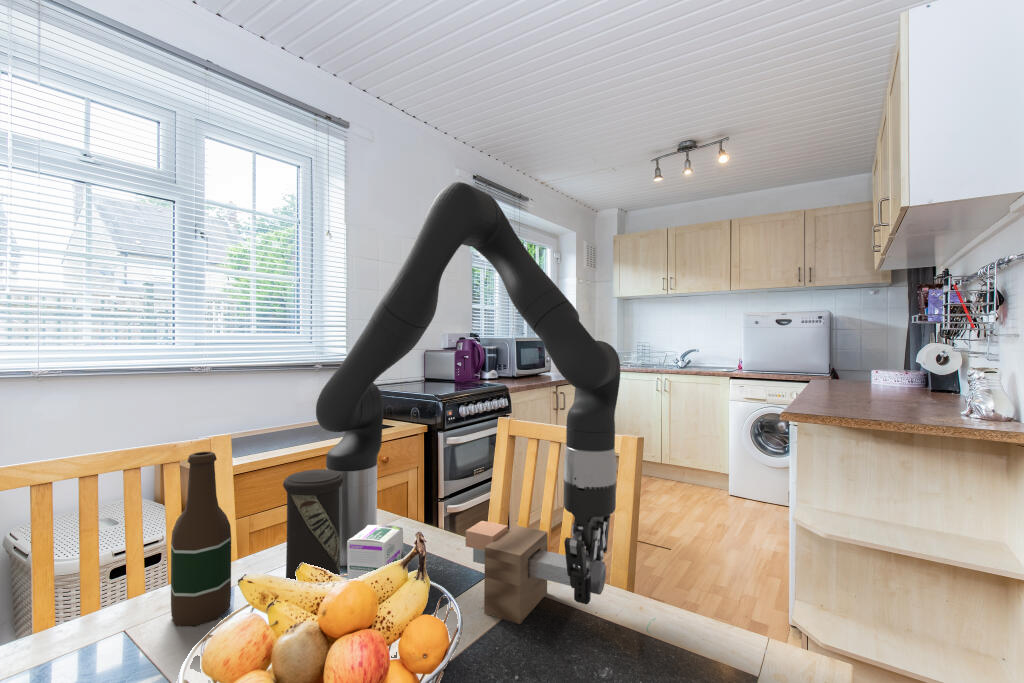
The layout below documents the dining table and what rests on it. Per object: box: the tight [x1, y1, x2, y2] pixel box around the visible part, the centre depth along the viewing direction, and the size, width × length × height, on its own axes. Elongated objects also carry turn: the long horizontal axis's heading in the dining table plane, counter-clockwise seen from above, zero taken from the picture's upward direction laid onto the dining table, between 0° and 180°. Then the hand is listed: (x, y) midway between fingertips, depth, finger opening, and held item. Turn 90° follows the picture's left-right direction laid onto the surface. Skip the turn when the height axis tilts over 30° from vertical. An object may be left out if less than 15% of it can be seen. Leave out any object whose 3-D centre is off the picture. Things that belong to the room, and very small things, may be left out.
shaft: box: [472, 548, 607, 596], centre depth 75 cm, size 20×4×4 cm, turn 63°
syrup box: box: [346, 524, 404, 581], centre depth 68 cm, size 6×6×14 cm
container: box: [282, 468, 343, 580], centre depth 78 cm, size 9×9×20 cm
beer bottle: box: [170, 451, 232, 628], centre depth 73 cm, size 8×8×24 cm
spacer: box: [465, 520, 509, 551], centre depth 80 cm, size 5×5×2 cm
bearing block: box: [483, 524, 549, 625], centre depth 77 cm, size 6×10×10 cm, turn 153°
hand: (587, 593), depth 72 cm, fingers closed on shaft, 4 cm apart
